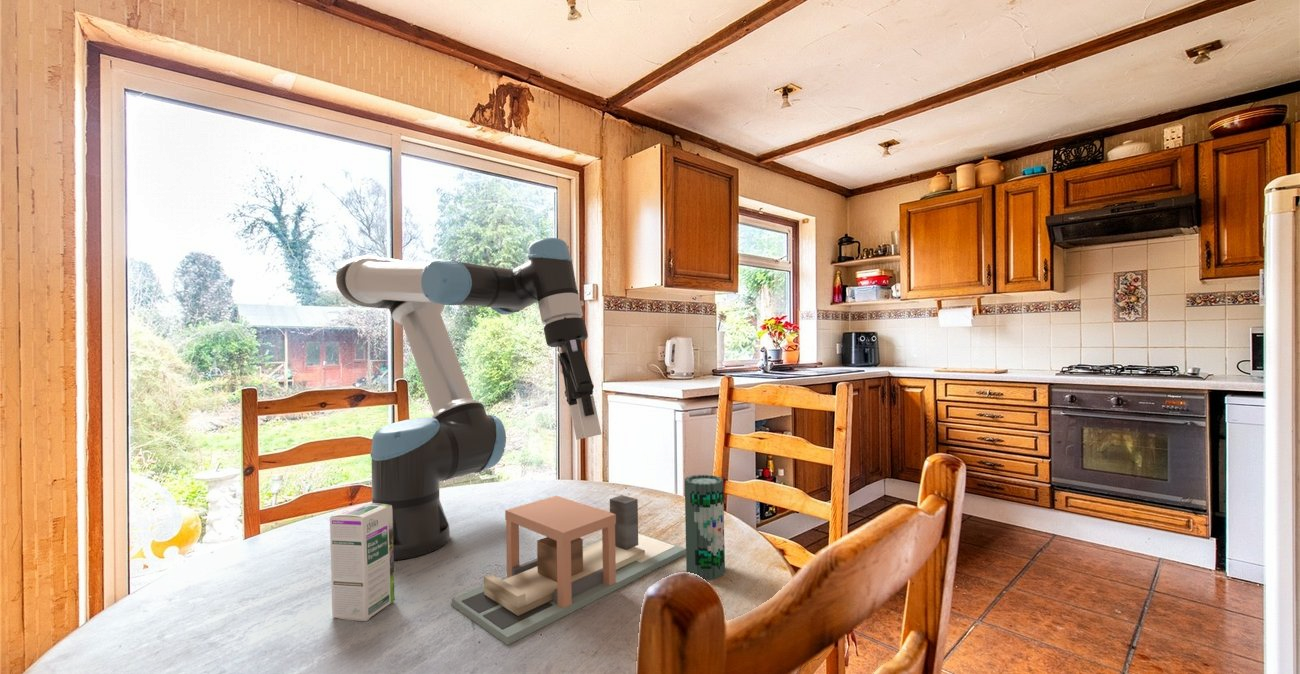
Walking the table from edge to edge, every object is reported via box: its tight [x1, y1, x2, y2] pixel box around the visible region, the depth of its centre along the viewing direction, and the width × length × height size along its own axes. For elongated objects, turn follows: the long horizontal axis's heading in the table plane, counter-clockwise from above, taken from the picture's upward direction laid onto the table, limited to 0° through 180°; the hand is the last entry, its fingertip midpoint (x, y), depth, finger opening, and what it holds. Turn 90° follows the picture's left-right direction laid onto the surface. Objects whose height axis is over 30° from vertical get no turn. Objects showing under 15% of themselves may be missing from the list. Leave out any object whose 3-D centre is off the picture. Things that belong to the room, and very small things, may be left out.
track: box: [451, 495, 686, 646], centre depth 82 cm, size 15×36×12 cm, turn 137°
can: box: [684, 474, 726, 580], centre depth 83 cm, size 6×6×15 cm
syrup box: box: [329, 502, 396, 622], centre depth 73 cm, size 6×6×14 cm
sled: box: [483, 494, 645, 616], centre depth 81 cm, size 9×26×9 cm, turn 137°
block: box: [536, 536, 584, 582], centre depth 79 cm, size 5×5×5 cm
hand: (588, 437), depth 88 cm, fingers open, 13 cm apart
